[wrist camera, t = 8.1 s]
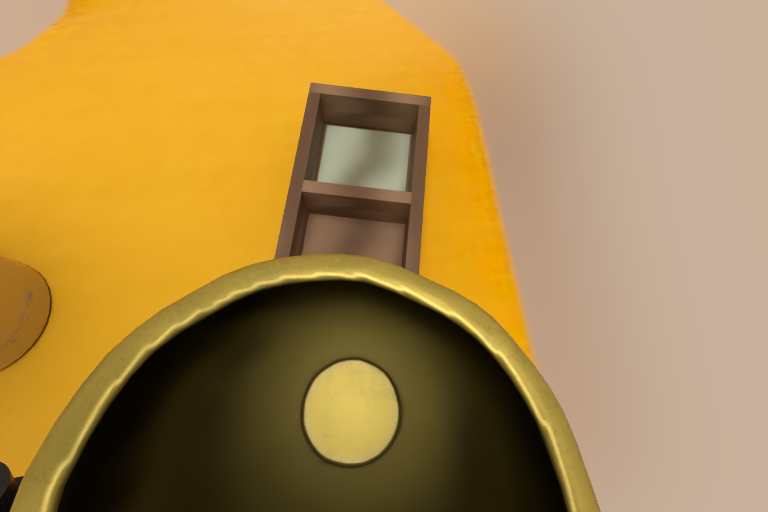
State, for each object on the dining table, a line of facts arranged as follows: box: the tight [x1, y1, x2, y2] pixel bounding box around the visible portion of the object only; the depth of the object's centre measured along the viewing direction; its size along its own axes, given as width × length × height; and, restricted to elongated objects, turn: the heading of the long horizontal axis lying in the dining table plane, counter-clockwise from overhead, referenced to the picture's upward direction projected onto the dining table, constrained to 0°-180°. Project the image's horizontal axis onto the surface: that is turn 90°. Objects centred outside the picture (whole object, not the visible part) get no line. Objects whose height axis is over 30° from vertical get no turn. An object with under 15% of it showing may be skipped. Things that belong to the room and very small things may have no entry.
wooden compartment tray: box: [275, 83, 431, 275], centre depth 31 cm, size 10×20×5 cm, turn 174°
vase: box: [10, 254, 600, 512], centre depth 10 cm, size 6×6×14 cm
